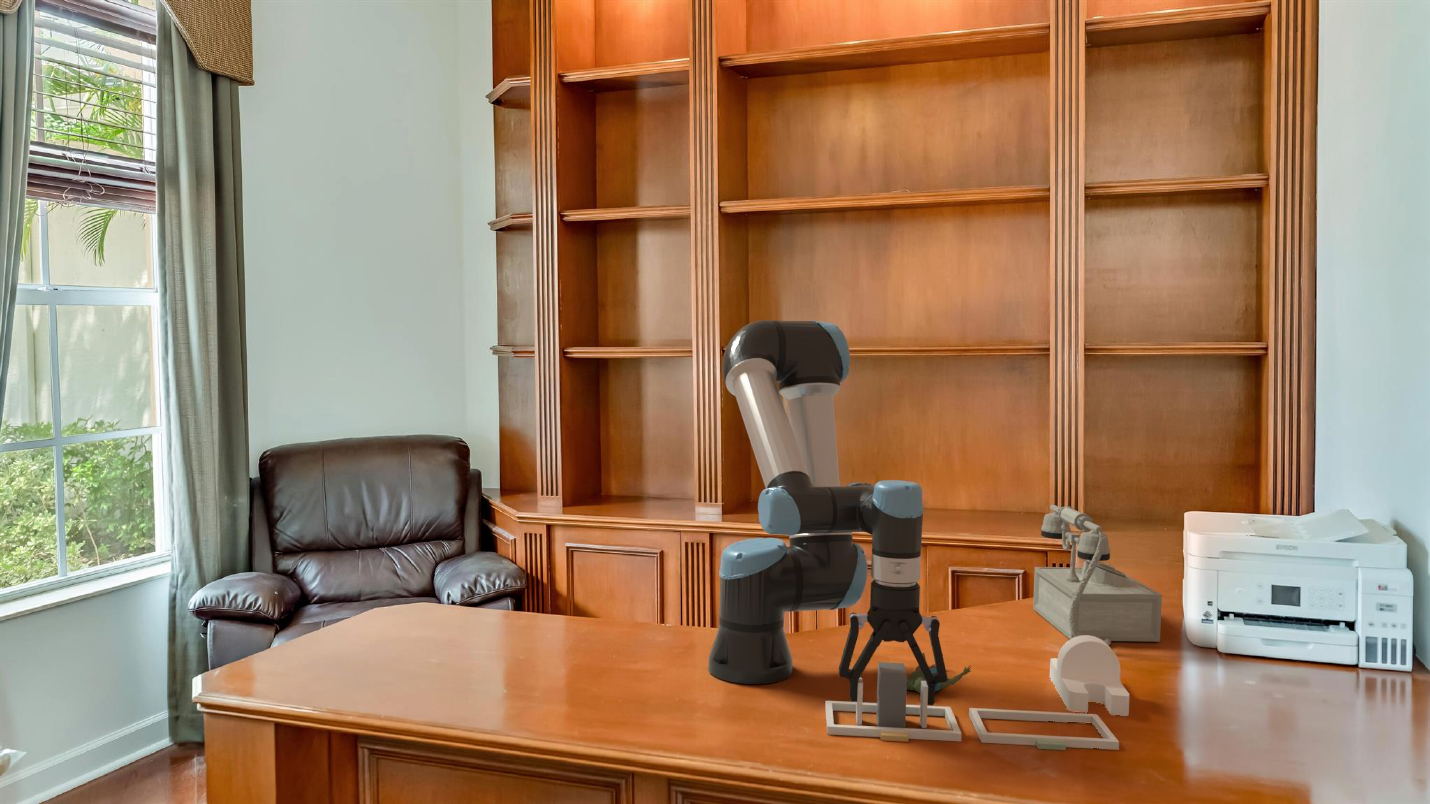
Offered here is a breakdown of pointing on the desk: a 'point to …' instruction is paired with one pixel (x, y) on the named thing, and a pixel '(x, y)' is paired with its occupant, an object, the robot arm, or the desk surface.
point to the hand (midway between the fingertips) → (890, 723)
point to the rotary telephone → (1092, 587)
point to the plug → (891, 695)
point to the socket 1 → (890, 732)
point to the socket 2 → (1042, 740)
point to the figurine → (918, 675)
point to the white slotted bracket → (1089, 676)
